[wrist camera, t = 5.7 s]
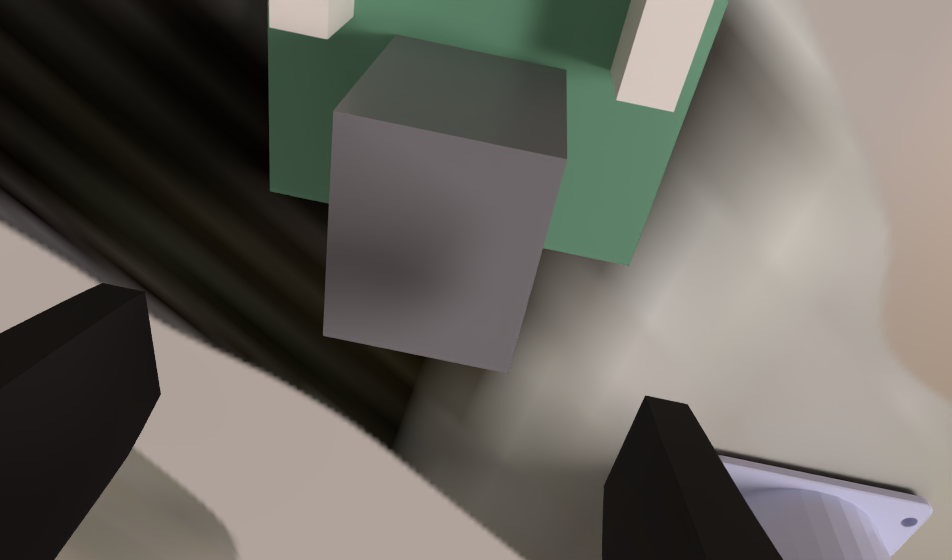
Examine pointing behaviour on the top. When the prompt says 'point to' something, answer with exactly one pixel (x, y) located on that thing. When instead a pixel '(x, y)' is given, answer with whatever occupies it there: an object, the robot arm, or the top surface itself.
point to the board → (522, 38)
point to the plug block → (442, 200)
